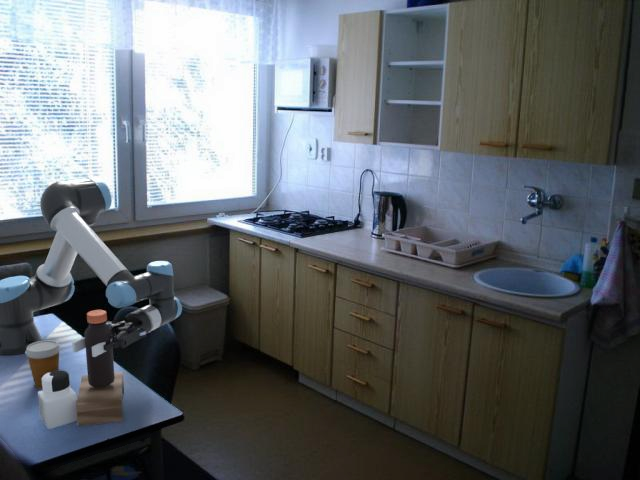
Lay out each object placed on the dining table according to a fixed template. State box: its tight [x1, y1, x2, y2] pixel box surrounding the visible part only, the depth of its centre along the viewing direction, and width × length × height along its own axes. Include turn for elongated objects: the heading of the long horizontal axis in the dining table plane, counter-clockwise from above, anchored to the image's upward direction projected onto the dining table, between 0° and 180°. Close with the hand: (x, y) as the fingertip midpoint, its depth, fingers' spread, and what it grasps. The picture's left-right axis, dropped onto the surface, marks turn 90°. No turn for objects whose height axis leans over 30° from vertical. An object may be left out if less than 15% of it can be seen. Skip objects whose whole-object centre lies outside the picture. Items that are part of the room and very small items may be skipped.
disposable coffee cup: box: [25, 339, 62, 389], centre depth 183 cm, size 10×10×12 cm
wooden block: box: [76, 371, 125, 428], centre depth 169 cm, size 18×11×6 cm, turn 16°
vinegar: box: [84, 309, 115, 387], centre depth 167 cm, size 7×7×20 cm
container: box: [37, 369, 78, 430], centre depth 162 cm, size 8×8×13 cm
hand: (83, 349), depth 162 cm, fingers open, 6 cm apart
